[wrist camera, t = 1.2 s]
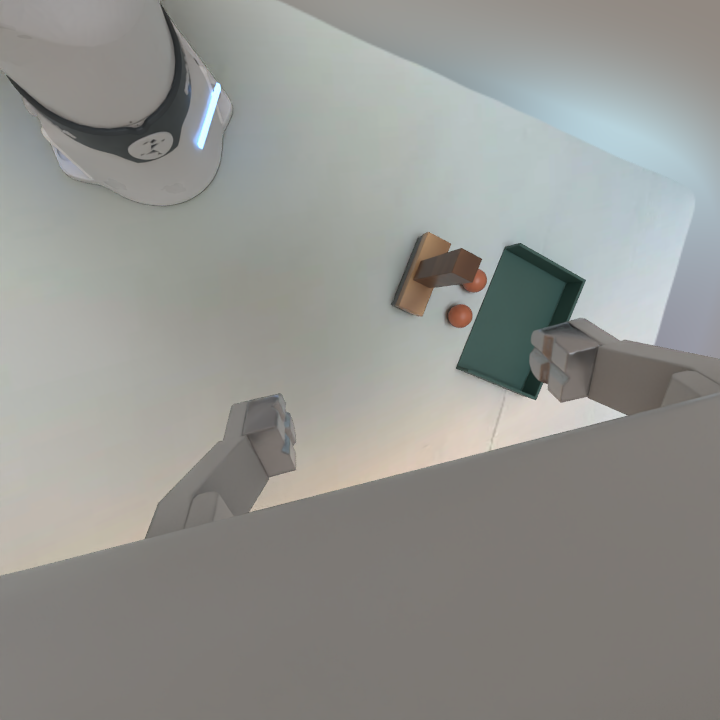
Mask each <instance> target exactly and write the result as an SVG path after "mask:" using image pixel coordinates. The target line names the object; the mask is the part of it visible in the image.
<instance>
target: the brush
mask: <svg viewBox="0 0 720 720" xmlns="http://www.w3.org/2000/svg"><path fill="white" fill-rule="evenodd" d="M450 246H451V243H449V242H447V241H445V240H443V239H441V238H439V237H437V236H435V235H434V234H432V233H430V232H427V233H425V234H423V236H421V237H419V238H418V239H417V242H416V244H415V247H414V249H413V252H412V254H411V257H410V259H409V262H408V264H407V267H406V269H405V272H404V274H403V277H402V279H401V282H400V285H399V287H398V290H397V292H396V295H395V297H394V300H393V302H392V305H393V306H395V307H397V308H400V309H402V310H404V311H406V312H409V313H411V314H413V315H416V316H423V313H424V311H425V308H426V306H427V303H428V301H429V298H430V296H431V293H432V291H433V288H435V287H443V286H450V285H458V284H466V283H472V282H473V280H474V278H475V275H476V273H477V270H478V268H479V265H480V263H481V260H482V259H481V258H479V257H477V256H475V255H474V254H472V253H470V252H468V251H466V250H464V249H462V248H460V249H457V250H454V251H451V252H448V251H449V248H450Z"/></svg>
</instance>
